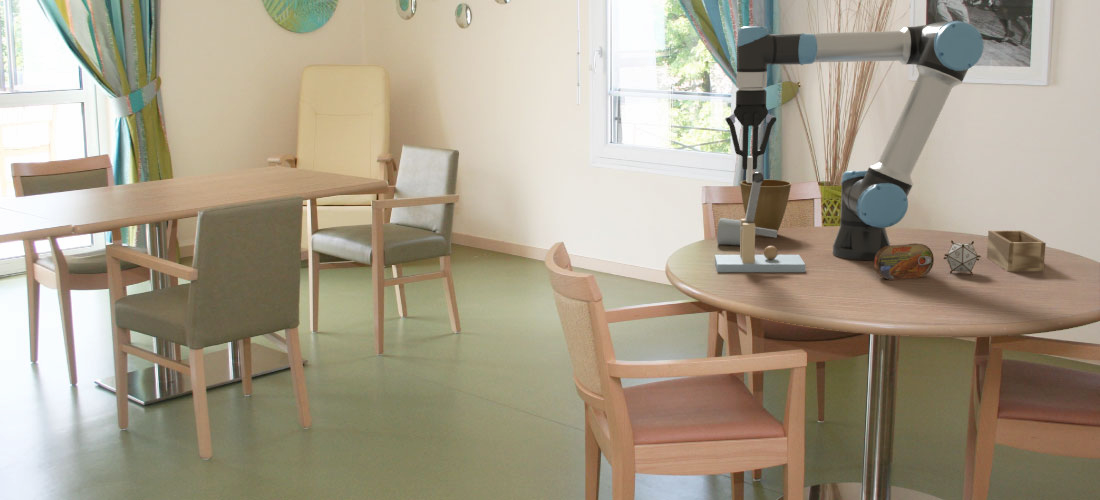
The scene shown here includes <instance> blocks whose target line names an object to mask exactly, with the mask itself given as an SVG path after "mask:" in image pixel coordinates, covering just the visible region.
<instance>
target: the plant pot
mask: <svg viewBox="0 0 1100 500" xmlns="http://www.w3.org/2000/svg"><path fill="white" fill-rule="evenodd" d="M739 183H740V192H741V198H742V199H741V200H742V205H743V210H744V214H745V216H746V212H747V207H748V202H749V197H750V191H751V186H752V183H747V182H746V179H745V180H741V181H740V182H739ZM791 187H792V183H791V182H790V181H787V180H781V179H780V180H779V179H767V178H766V179H765V178H764V181H763V182H762V183H761V187H760V192H759V197H758V203H757V208H756V213H755V218H754V223H755V227H760V228H766V229H772V230H777V231H778V232H779V230H780V227H781V224H782V221H783V219H784V216H785V213H786V210H787V206H788V202H789V199H790V192H791ZM755 237H759V238H760V237H761V238H770V237H769V236H763V235H757V234H755Z"/></svg>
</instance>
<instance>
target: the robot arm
mask: <svg viewBox="0 0 1100 500" xmlns="http://www.w3.org/2000/svg"><path fill="white" fill-rule="evenodd" d="M984 45H985V44H984V39H983V36H982V34H981V32H980V30H978V29H977V27H975V26H974V25H973V24H971V23H969V22H965V21H961V20H952V21H939V22H938V21H937V22H934V23H930V24H925V25H917V26H904V27H903V28H902V29H900V30H892V31H891V30H889V31H888V30H887V31H885V30H884V31H854V32H853V31H852V32H851V31H850V32H816V33H815V32H814V33H813V32H812V33H811V32H810V33H777V34H772V33H770V32H769V28H768V27H767V26H766V25H764V26H742V27H740V28H739V29H738V31H737V43H736V84H735V85H736V88H737V90H736V91H735V108H734V110H733V113H732V114H730V115H729V116H726V117H725V119H724V120H725V122H726V124H727V125H728V127H729V130H730V135H731V139H732V143H733V148H734V152H735V154H736V155H738V156H741V158H742V159H741V162H742V163H741V167H742V169H743V170H746V173H745V180H746V182H747V183H752V174H753V173H754V172H753V170H757V168H758V157H760V156H761V155H764V154H765V152H766V150H767V145H768V142H769V138H770V135H771V131H772V128H773V126H774V124H775V123H776V122H777V117H775V116H773V115H772V114H770V113H769V110H768V108H767V90H766V88H767V85H768V84H767V83H768V82H767V81H768V78H767V77H768V65H770V66H774V65H779V66H781V65H784V66H785V65H787V66H788V65H789V66H790V65H800V66H804V65H811V64H815V63H846V62H848V63H850V62H851V63H853V62H892V61H893V62H897V61H898V62H900V63H901V65H916V66H915V67H916V69H917V71H918V77H917V79H916V80H915V83H914V85H913V87H912V89H911V91H910V93H909V95H908V98H907V100H906V102H905V104H904V106H903V108H902V111H901V112H900V115H899V117H898V119H897V121H896V123H895V125H894V127H893V129H892V132H891V133H890V136H889V138H888V141H887V142H886V144H885V146H884V149H883V150H882V153H881V155H880V157H879V160H878V162H877V163H874V164H872V165H869V167H868V168H867V170H846V171H844V172H843V174H842V176H841V178H842V179H841V181H840V185H841V197H840V198H841V199H840V202H841V203H840V223H839V225H840V226H839V229H838V232H837V234H836V237H835V239H834V242H833V245H832V254H833V256H836V257H839V258H841V259H842V258H843V259H850V260H860V261H861V260H862V261H864V260H866V261H869V260H870V261H871V260H872V261H873V260H874V259H875V255H876V254H877V252H878V251H879V250H880V249H881V248H883V247H885V246H891V243H890V239H889V236H888V233H887V229H886V228H890V227H893V226H895V225H896V224H898V223H899V222H901V221H902V220H903V218H904V217H905V215H906V214H907V211H908V208H909V207H908V206H909V201H908V199H909V198H908V196H909V194H910V192H911V191H912V188H913V186H914V183H913V181H912V178H911V177H912V176H911V175H912V173H913V171H914V168H915V167H916V164H917V162H918V160H919V158H920V156H921V154H922V152H923V150H924V148H925V146H926V143H927V141H928V139H929V137H930V135H931V133H932V131H933V129H934V127H935V124H936V123H937V121H938V119H939V117H940V114H941V112H942V110H943V108H944V106H945V104H946V101H947V99H948V98H949V95H950V94H951V92H952V89H953V88H954V87H957V86H958V85H961V84H962V83H963V81H964V79H965V77H966V75H967V73H968V70H969V69H971V68H972V67H973V66H975V65H976V64H978V62H979V61H980V60H981V58H982V56H983V53H984ZM765 118H766V119H765ZM736 119H737V120H738V123H739V124H741V126H742V139H741V140H742V143H741V145H742V147H741V146H740V143H739V139H738V134H737V130H736V126H735V123H736ZM764 120H765V122H766V125H765V128H764V132H763V135H762V139H761V141H760V142H761V143H760V146H759V126H760V125H761V124H762V123H763V121H764ZM749 127H752V128H751V129H752V131H751V132H752V136H751V138H752V139H751V142H752V143H751V155H749ZM758 147H759V148H758ZM741 148H742V149H741Z"/></svg>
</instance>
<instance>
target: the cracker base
mask: <svg viewBox="0 0 1100 500" xmlns="http://www.w3.org/2000/svg"><path fill="white" fill-rule="evenodd" d="M740 220H741V227H742V225H743V232H742V230H741V229H740V245H739V246H740V247H739V248H740V249H739V254H714V264H715V265H714V266H715V268H716V272H717V273H806V263H805V262H804V259H802V257H801V256H800V254H779V251H778V249H777V248H776V247H775V246H774V245H768V246H766V247H765V248H764V250H763V254H756V236H755V223H744V222H745V218H740Z"/></svg>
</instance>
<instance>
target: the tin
mask: <svg viewBox="0 0 1100 500" xmlns="http://www.w3.org/2000/svg"><path fill="white" fill-rule="evenodd" d="M934 260H935V258H934V253H933V251H932V250H931V248H930V247H929V246H928V245H926V244H924V243H923V244H922V243H906V244H895V245H894V244H892V245H891V244H890V246H885V247H883V248H881V249H880V250H879V251H878V252H877V254H876V255H875V259H874V261H873V266H874V270H875V271H876V274H877V275H878V276H880V277H881V278H883V279H886V280H890V281H897V280H906V279H907V280H908V279H919V278H923V277H925V276H927V274H929V273H930V271H931V270H932V268H933V266H934V263H935V262H934Z"/></svg>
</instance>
